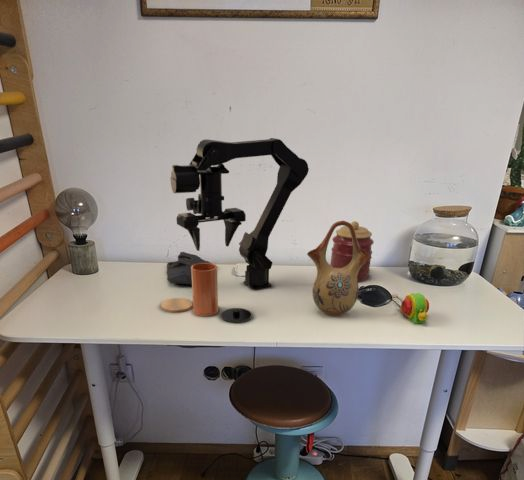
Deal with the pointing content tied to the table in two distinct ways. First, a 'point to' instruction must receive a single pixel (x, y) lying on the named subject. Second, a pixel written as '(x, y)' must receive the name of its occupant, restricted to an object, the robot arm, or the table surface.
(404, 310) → the toy measuring tape
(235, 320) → the lid
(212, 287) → the pot
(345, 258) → the kitchen canister
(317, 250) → the ceramic vessel
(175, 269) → the dark slate chunk
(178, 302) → the coaster
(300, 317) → the table surface
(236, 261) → the table surface
